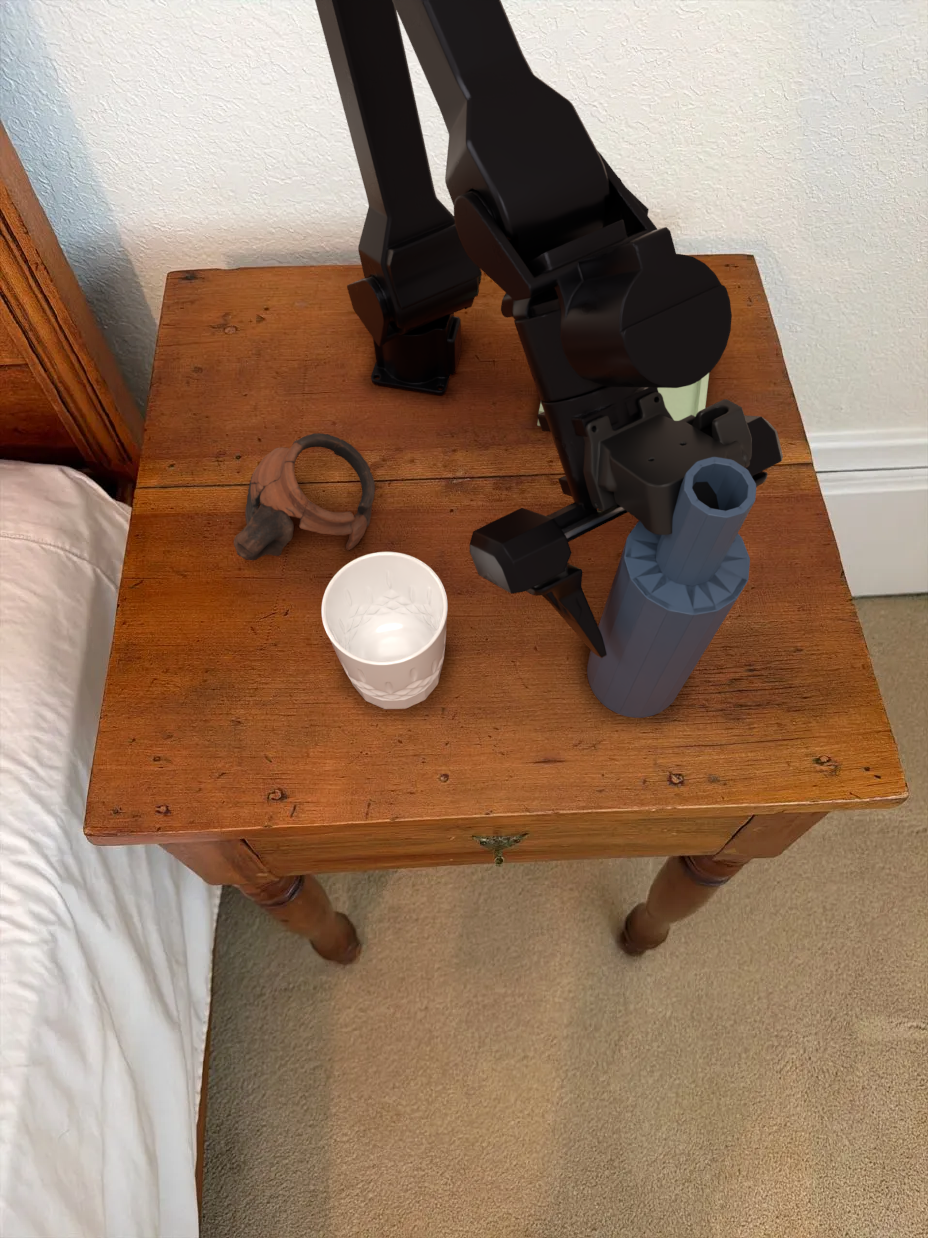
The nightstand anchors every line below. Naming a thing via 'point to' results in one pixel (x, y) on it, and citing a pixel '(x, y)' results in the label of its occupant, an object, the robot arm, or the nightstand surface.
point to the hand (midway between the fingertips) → (662, 622)
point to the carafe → (673, 593)
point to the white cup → (388, 627)
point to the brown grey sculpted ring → (298, 501)
